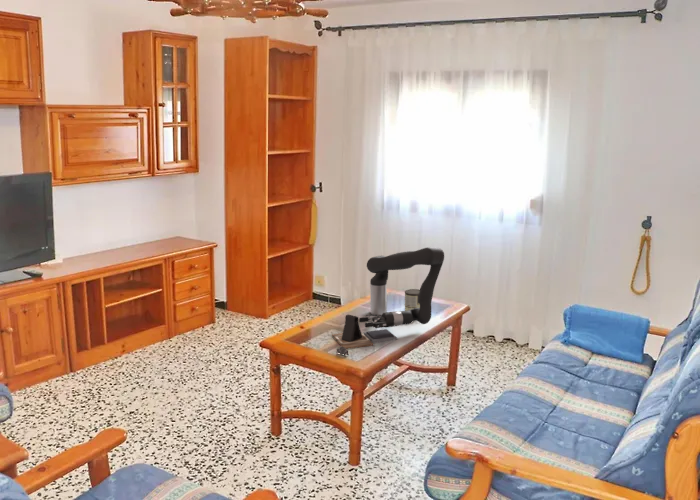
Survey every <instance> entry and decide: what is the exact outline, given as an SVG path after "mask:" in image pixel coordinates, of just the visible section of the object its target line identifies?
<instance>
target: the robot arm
mask: <svg viewBox="0 0 700 500" xmlns="http://www.w3.org/2000/svg"><path fill="white" fill-rule="evenodd" d="M444 260H445V252H444V251H443V249H442V248H439V247H431V246H428V247H424V248H421V249H418V250H413V251H412V250H409V251H408V250H407V251H401V252H400V251H399V252H396V253H393V254H389V255H386V256H385V255H377V256H373V257H370V258H369V259H368V260H367V262H366V268H367V270H368V271H369V272H370V273H372V274H374V275H373V277H371V279H370V280H369V281H370V283H369V284H370V291H369V292H370V300H369V301H370V303H369V304H370V314H366V315H365V316H364V317H358V323H364V327H365V328H375V329H379V328H393V327H394V328H395V327H399V326H403V325H404V326H407V325H410V324H412V323H413V322H418V323H419V324H421V325H427V324H428V323H429V322H430V321H431V319H432V301H433V295H434V291H435V286H436V283H437V280H438V278H439V276H440V273H441V270H442V266H443V264H444ZM417 265H418V266H420V265H423V266H424V265H425V266H430V268H429V272H428V274H427V276H426V277H425V279H424V280H423V282H422V283H421V285H420V289H419V290H420V292H419V297H418V303H419V304H420V308H414V309H411V310H408V311H405V310H402V311H401V310H399V311H395V310H394V311H389V312H387V310H388V309H387V306H388V302H387V301H388V297H387V296H388V295H387V294H388V293H387V289H388V288H387V286H388V284H387V283H388V279H389V271H398V270H399V271H402V270H406V269H407V270H409V269H411V268H412V267H414V266H417Z"/></svg>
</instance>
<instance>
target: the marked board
mask: <svg viewBox="0 0 700 500" xmlns="http://www.w3.org/2000/svg"><path fill="white" fill-rule="evenodd" d="M361 334H362V338H360V339H358V340H355V341H353V342H348V341H345V340H342V335H343V332H338V333H332V334H331V336H333V337H334V338H335V339H336V340H337V341H336V340H335V339H334V338H333V337H332V338H333V339H334V340H335V341H336V343H338V344H339V345H340V347H345V348H346V350H348V348H350V349H356V347H358V348H364V347H372V346H374V343H372V342H371V341H370V340H369V339H368V338H367V337H366V336H365V335H364V332H361Z"/></svg>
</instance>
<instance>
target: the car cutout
mask: <svg viewBox="0 0 700 500" xmlns="http://www.w3.org/2000/svg"><path fill="white" fill-rule="evenodd" d="M338 353H340V354H344V355H343V356H346V355H348V356H350V354H349V350H348V349H346V348H345V347H342V346H339V348H337V349H336V355H337V354H338ZM338 355H339V354H338ZM346 357H347V356H346Z"/></svg>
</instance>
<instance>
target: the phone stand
mask: <svg viewBox="0 0 700 500" xmlns="http://www.w3.org/2000/svg"><path fill="white" fill-rule="evenodd" d="M344 317H345V319H344V320H345V321H344V325H343V326H344V327H343V331H342V333H343V335H342V340H345V341H348V342H353V341H355V340H358V339H360V338H362V334H361V333H362V331H361V328H360V324H359V323H360V322H359V317H358V316H356V315H352V314H346V315H345V316H344Z"/></svg>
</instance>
